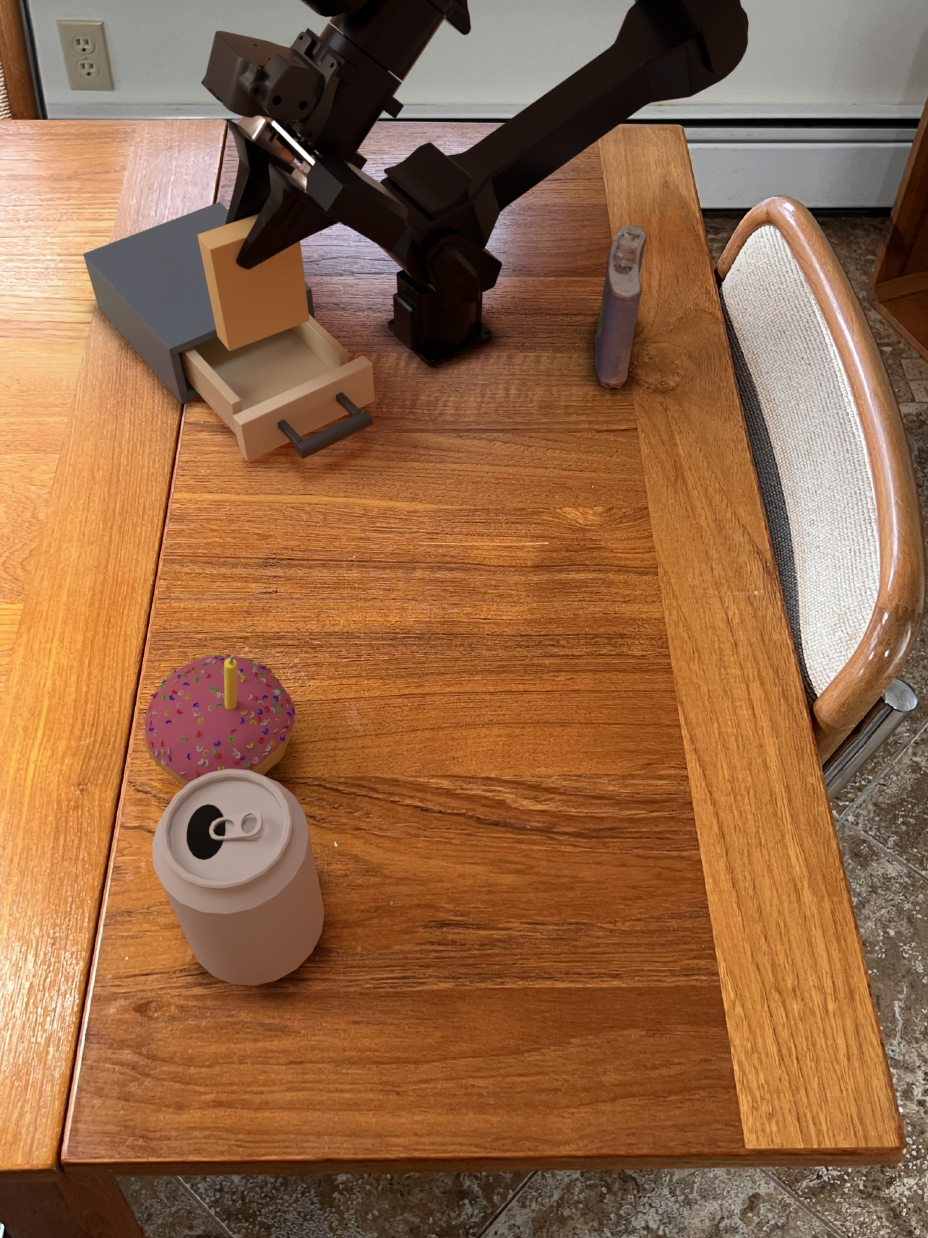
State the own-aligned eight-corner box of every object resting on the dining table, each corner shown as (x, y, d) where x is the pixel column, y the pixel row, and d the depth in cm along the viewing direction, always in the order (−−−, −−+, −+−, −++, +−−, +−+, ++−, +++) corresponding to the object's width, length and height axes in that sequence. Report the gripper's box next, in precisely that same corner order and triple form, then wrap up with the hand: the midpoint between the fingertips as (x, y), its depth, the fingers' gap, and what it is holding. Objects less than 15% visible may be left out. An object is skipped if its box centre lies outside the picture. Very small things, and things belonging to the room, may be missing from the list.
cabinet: (318, 343, 94) (312, 288, 89) (181, 404, 89) (168, 349, 85) (229, 256, 100) (219, 201, 96) (98, 308, 96) (82, 253, 91)
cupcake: (323, 724, 72) (305, 605, 62) (265, 842, 67) (235, 733, 57) (198, 685, 73) (162, 564, 64) (132, 798, 68) (82, 684, 59)
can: (193, 866, 66) (150, 759, 56) (325, 857, 66) (305, 749, 57) (185, 997, 61) (137, 904, 52) (326, 986, 62) (305, 892, 52)
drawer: (403, 428, 86) (402, 391, 83) (275, 492, 82) (268, 455, 79) (283, 311, 95) (278, 273, 92) (161, 363, 90) (151, 325, 88)
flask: (626, 391, 91) (645, 276, 82) (589, 387, 91) (603, 272, 82) (633, 318, 96) (651, 203, 88) (598, 314, 96) (612, 199, 88)
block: (297, 306, 85) (284, 204, 79) (309, 320, 84) (297, 218, 78) (217, 336, 83) (196, 234, 76) (229, 351, 82) (209, 249, 75)
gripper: (205, -79, 71) (81, 139, 76) (354, 48, 62) (201, 287, 67) (327, 18, 80) (209, 208, 85) (474, 143, 71) (331, 348, 76)
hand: (233, 257), depth 78 cm, fingers closed on block, 2 cm apart
